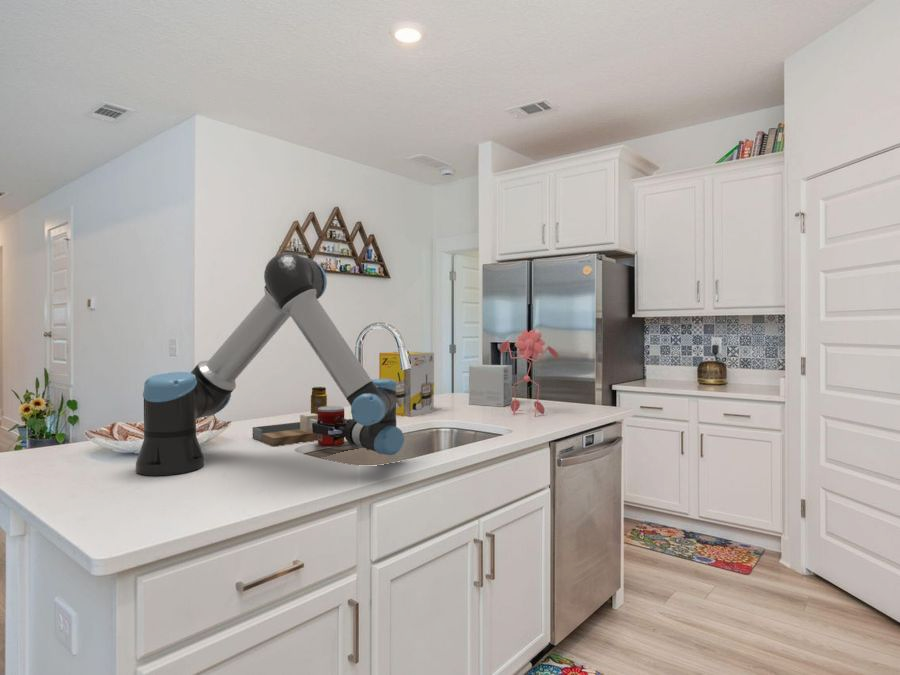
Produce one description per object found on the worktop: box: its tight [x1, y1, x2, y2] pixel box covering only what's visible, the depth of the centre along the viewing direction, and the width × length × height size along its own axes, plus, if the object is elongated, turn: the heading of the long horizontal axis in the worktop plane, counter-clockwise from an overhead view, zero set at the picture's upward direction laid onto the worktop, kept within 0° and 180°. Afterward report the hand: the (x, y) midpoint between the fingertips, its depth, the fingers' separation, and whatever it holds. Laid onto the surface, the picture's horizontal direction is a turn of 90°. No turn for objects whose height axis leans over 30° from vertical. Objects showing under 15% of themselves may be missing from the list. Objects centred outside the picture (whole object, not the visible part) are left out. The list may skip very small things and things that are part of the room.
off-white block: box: [299, 413, 318, 432], centre depth 178 cm, size 4×4×5 cm
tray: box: [252, 421, 300, 442], centre depth 181 cm, size 20×7×4 cm, turn 130°
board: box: [260, 429, 318, 447], centre depth 175 cm, size 20×9×2 cm, turn 130°
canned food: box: [317, 405, 345, 448], centre depth 169 cm, size 8×8×11 cm
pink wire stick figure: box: [499, 329, 560, 418], centre depth 232 cm, size 15×26×35 cm, turn 64°
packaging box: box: [378, 351, 435, 418], centre depth 233 cm, size 16×16×25 cm
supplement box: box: [468, 364, 513, 407], centre depth 261 cm, size 17×13×18 cm
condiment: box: [310, 386, 328, 414], centre depth 217 cm, size 7×8×12 cm
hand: (323, 422), depth 173 cm, fingers closed on canned food, 8 cm apart
